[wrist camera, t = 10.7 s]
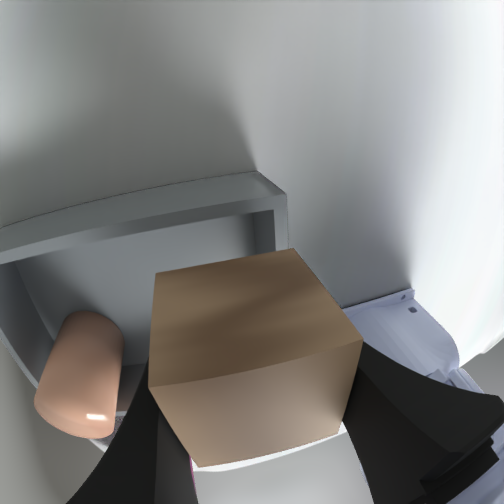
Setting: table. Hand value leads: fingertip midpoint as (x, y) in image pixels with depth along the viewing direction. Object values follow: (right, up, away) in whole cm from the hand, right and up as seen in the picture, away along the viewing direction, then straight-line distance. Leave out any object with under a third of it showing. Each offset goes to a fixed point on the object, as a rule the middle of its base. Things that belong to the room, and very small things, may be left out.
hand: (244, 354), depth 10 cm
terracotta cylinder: (-11, -3, +8) cm, 14 cm away
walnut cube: (0, +1, +2) cm, 2 cm away
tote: (-7, +1, +8) cm, 11 cm away
